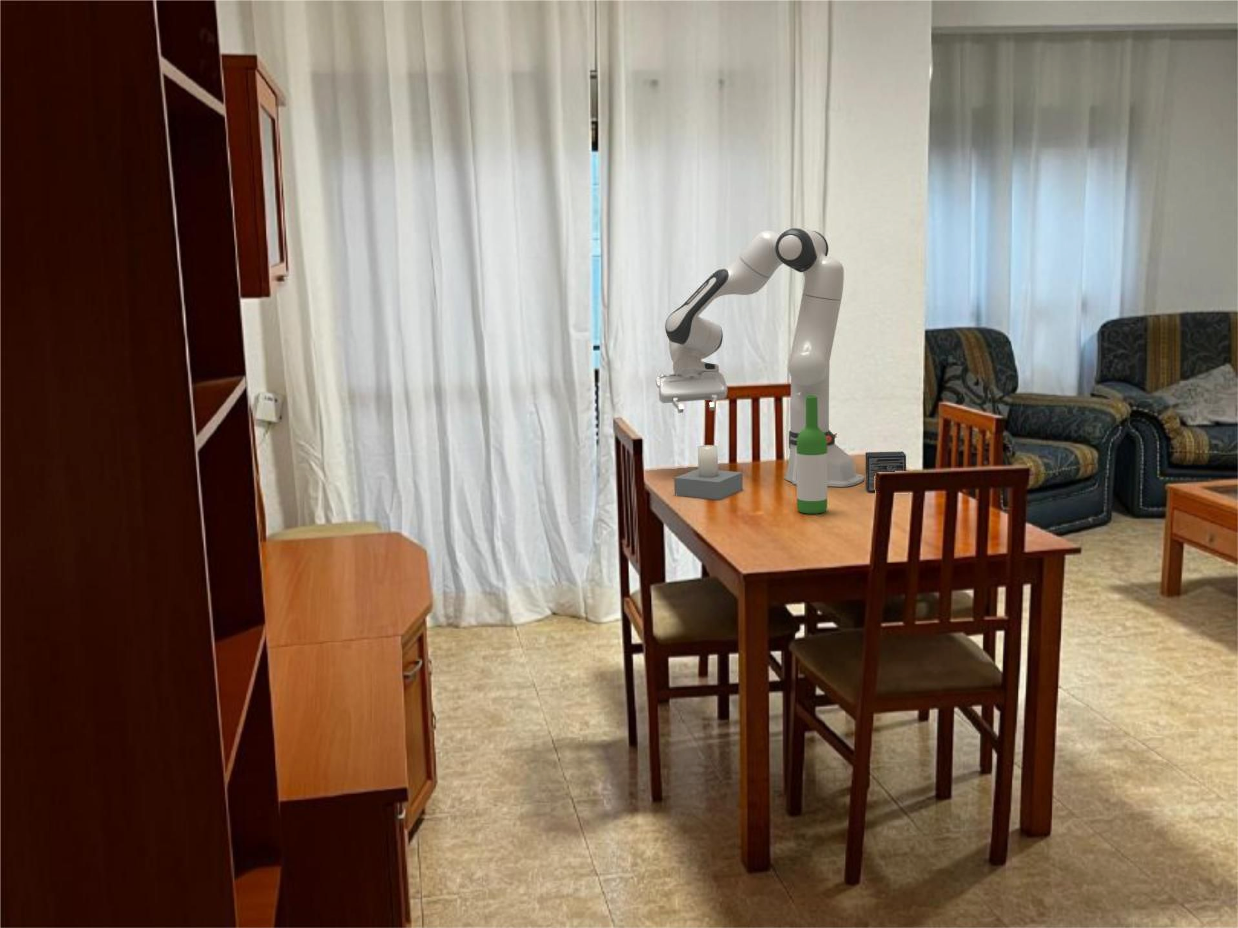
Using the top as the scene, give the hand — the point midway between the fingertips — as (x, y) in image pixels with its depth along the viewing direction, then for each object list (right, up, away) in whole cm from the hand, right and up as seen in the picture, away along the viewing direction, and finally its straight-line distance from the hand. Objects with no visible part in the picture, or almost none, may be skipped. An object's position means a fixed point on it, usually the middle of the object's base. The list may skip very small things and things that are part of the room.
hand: (696, 410), depth 344 cm
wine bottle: (+27, -28, -39) cm, 56 cm away
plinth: (+2, -24, -14) cm, 28 cm away
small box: (+51, -23, -18) cm, 59 cm away
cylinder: (+2, -19, -15) cm, 24 cm away
